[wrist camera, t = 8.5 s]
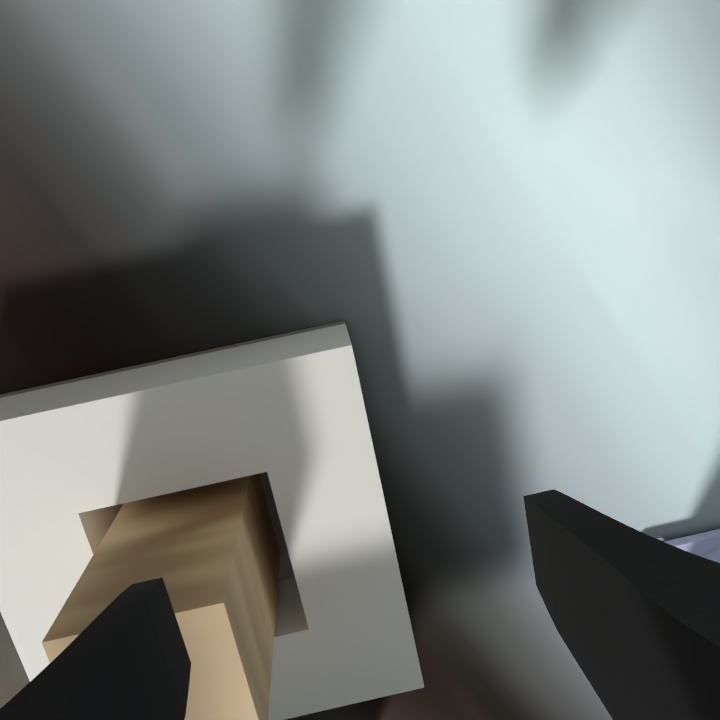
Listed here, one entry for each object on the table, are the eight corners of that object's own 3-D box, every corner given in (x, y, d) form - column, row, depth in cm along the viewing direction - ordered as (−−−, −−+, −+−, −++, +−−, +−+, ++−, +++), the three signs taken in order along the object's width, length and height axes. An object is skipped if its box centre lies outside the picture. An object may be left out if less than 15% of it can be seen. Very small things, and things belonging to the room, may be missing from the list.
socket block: (344, 320, 21) (351, 345, 17) (408, 618, 24) (424, 687, 21) (-12, 397, 21) (-74, 436, 17) (101, 687, 24) (67, 770, 20)
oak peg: (254, 454, 21) (223, 603, 14) (280, 555, 22) (265, 745, 15) (138, 478, 21) (41, 642, 13) (170, 578, 22) (97, 782, 15)
